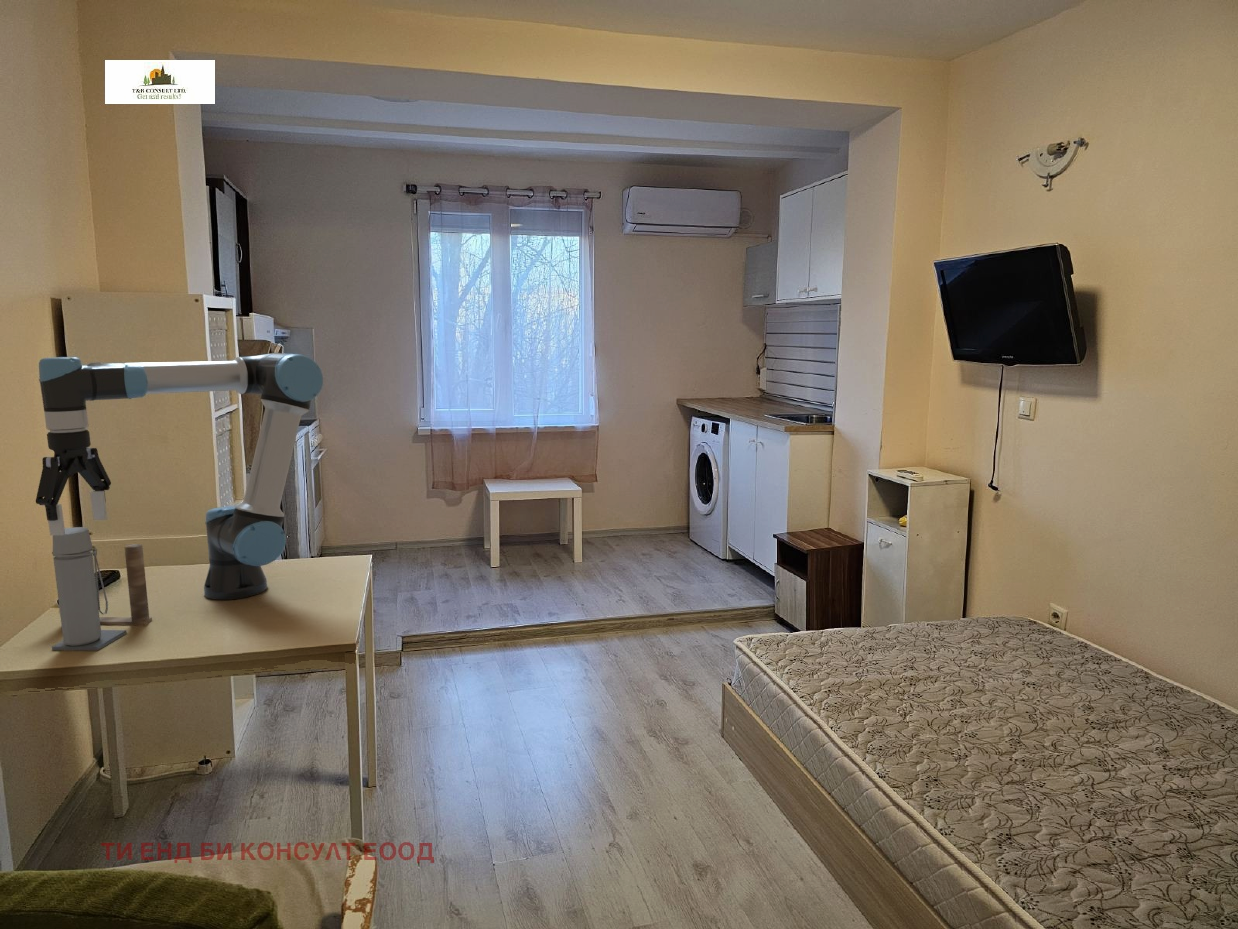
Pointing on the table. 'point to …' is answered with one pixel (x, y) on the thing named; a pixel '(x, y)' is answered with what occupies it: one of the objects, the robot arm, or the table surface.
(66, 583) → the water bottle
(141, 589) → the gate
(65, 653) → the table surface
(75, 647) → the pad
